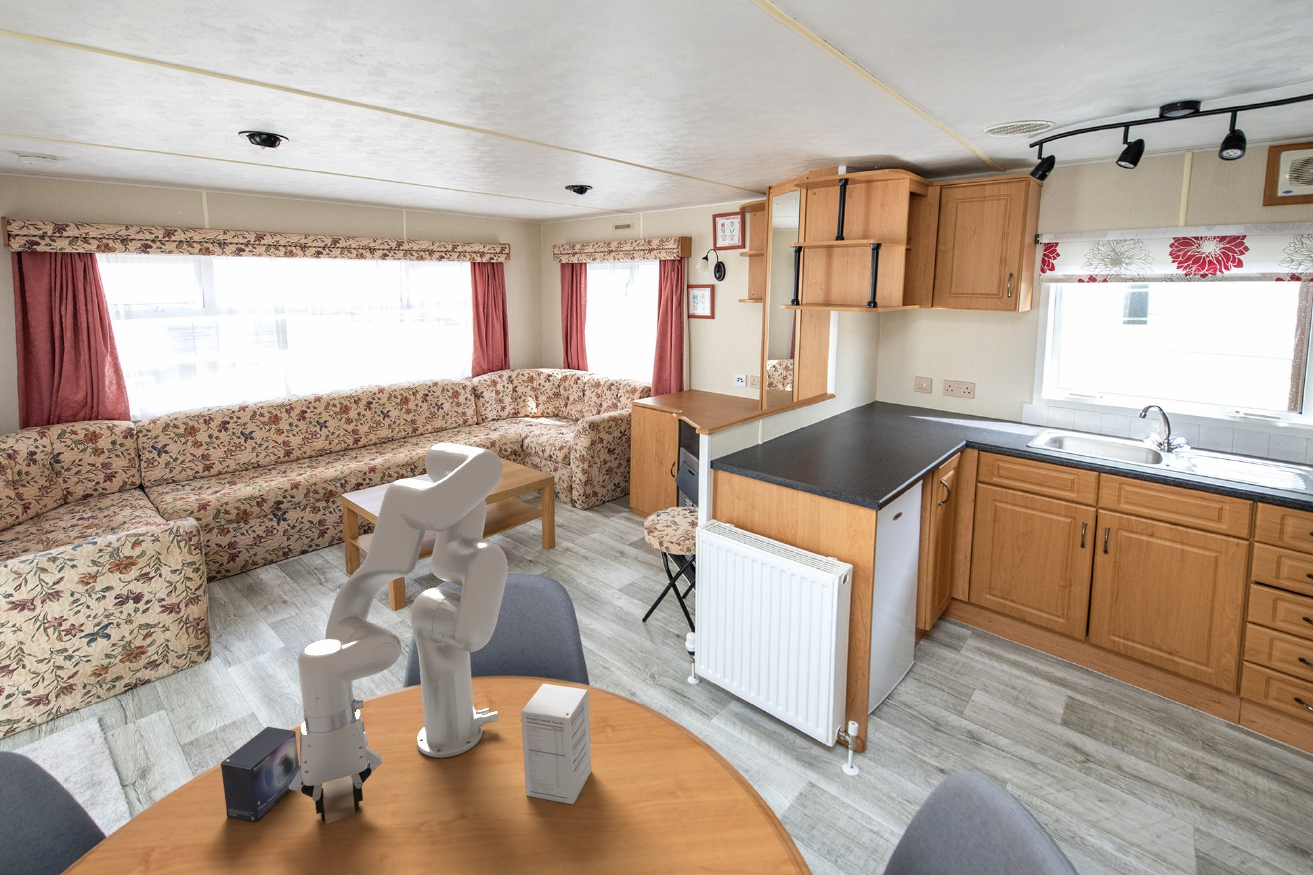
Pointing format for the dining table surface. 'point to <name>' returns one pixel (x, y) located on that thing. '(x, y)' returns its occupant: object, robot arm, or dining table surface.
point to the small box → (259, 773)
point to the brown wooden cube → (338, 800)
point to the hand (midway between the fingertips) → (340, 808)
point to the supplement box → (556, 743)
